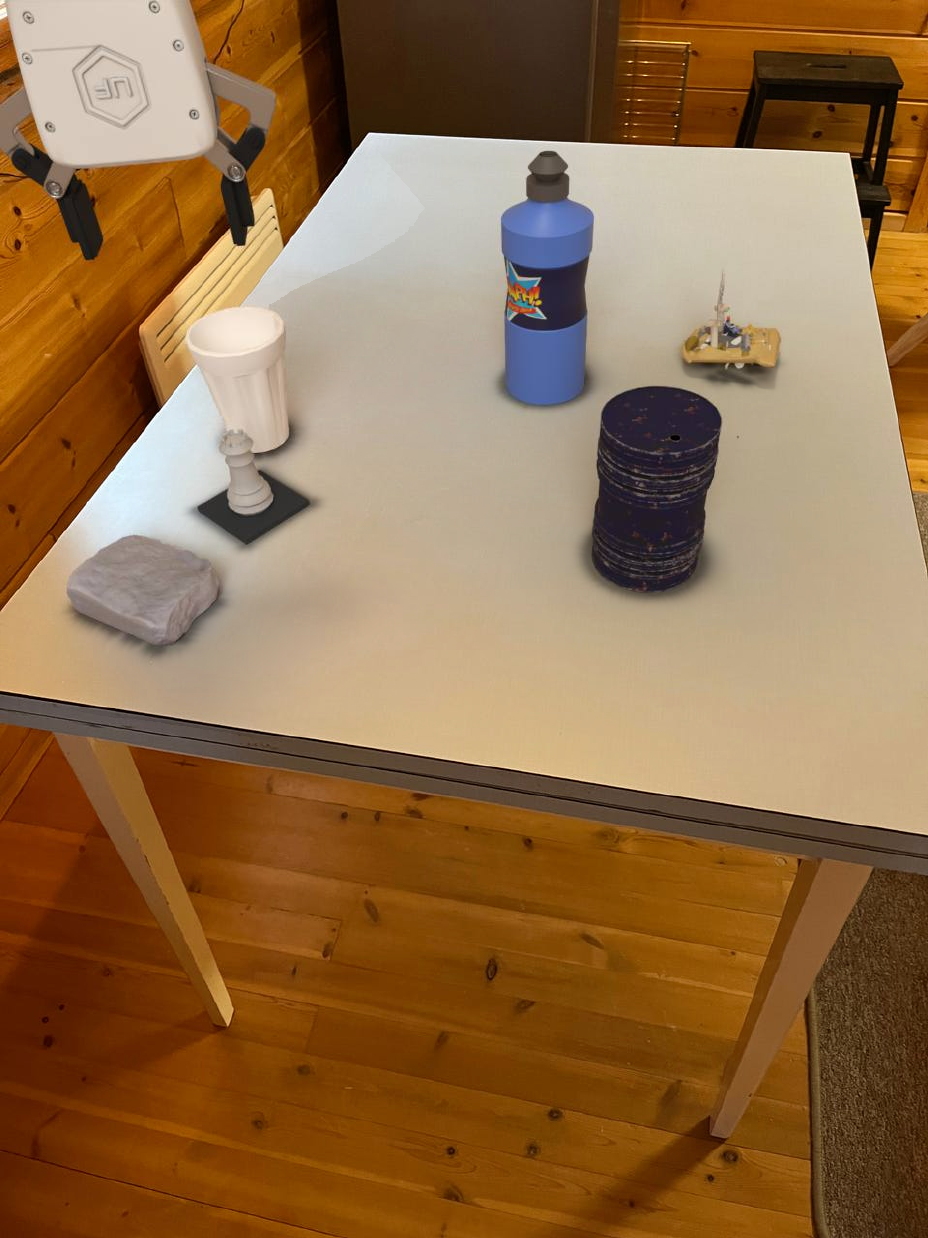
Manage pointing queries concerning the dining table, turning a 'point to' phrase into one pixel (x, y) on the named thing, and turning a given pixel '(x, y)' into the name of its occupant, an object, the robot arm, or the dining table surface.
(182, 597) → the stone block
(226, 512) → the mat
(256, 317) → the cup
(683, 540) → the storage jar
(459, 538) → the dining table surface
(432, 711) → the dining table surface
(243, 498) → the rook chess piece
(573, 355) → the water bottle
